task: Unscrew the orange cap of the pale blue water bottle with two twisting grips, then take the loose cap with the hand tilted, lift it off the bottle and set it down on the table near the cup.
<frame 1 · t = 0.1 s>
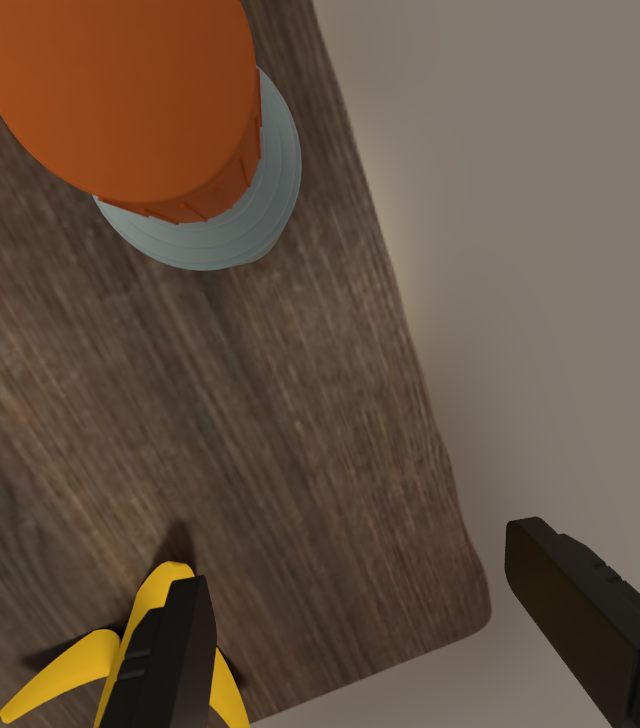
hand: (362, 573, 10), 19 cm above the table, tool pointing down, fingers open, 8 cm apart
cap: (130, 72, 6), point 20 cm above the table, screwed on, not yet turned
banana peel: (129, 643, 33), on the table
water bottle: (233, 213, 25), on the table
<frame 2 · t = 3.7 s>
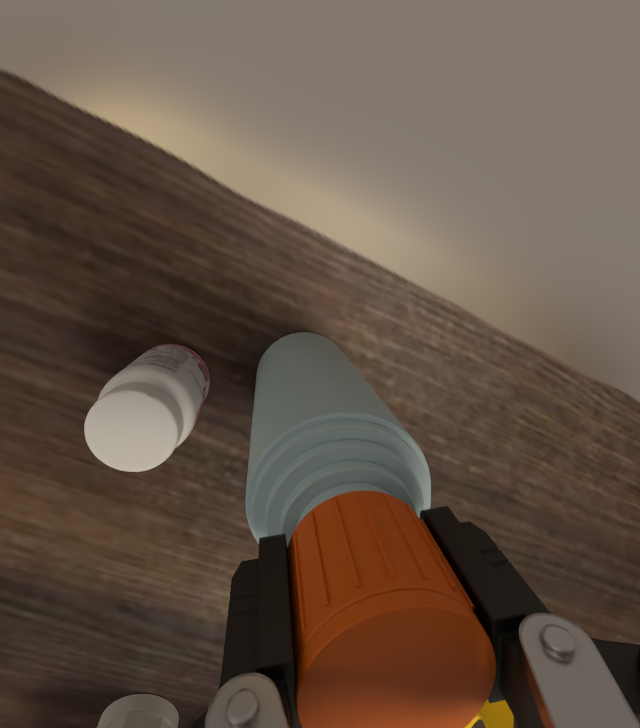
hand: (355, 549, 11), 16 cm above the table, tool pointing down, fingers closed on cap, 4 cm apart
pill bottle: (174, 377, 25), on the table
cap: (393, 669, 8), point 20 cm above the table, screwed on, not yet turned, touching gripper
cup: (140, 719, 33), on the table
banana peel: (474, 687, 37), on the table
water bottle: (303, 378, 26), on the table
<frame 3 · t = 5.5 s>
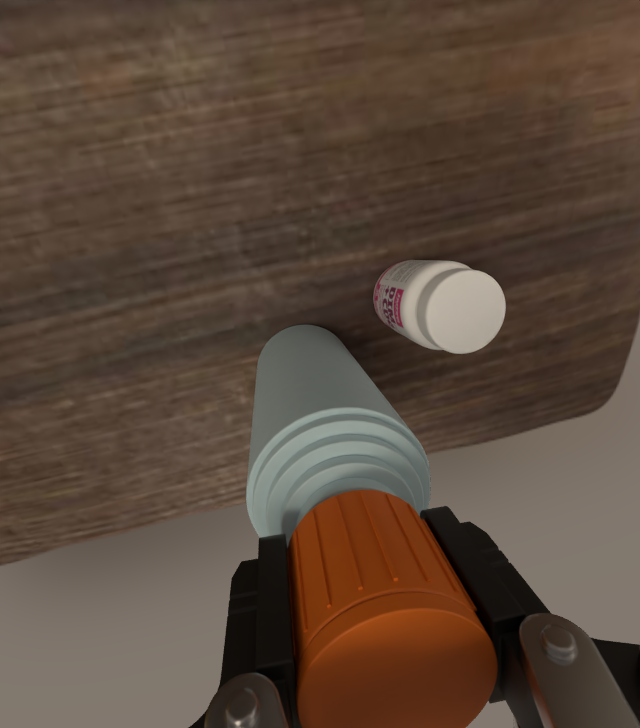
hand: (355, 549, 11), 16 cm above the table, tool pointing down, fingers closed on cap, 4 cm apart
pill bottle: (404, 296, 26), on the table
cap: (393, 670, 8), point 20 cm above the table, turned 142° so far, risen 0.1 cm, still on its thread, touching gripper
water bottle: (304, 370, 26), on the table
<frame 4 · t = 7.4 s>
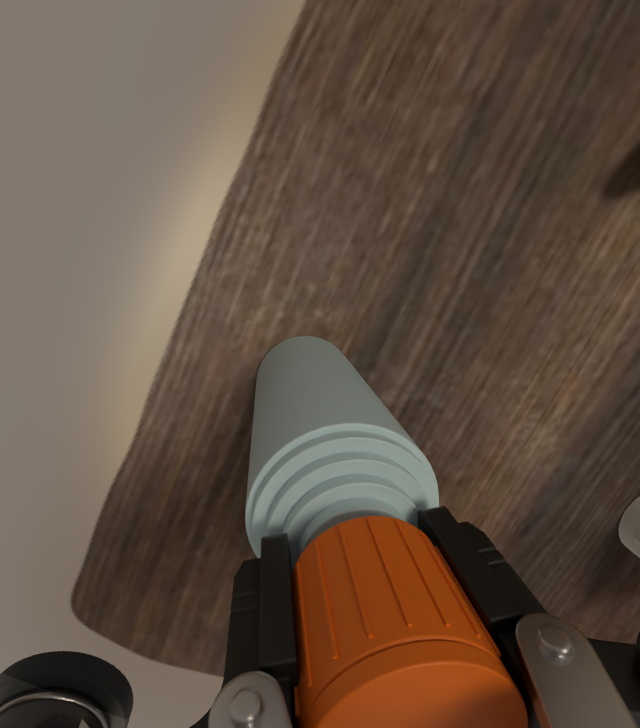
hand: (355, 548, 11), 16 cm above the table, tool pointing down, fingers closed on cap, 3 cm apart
cap: (410, 726, 7), point 20 cm above the table, turned 270° so far, risen 0.3 cm, still on its thread, touching gripper
water bottle: (304, 382, 26), on the table
when the fingers open (16 cm above the table, at t = 10.0 s): cap stays where it is, point 20 cm above the table.
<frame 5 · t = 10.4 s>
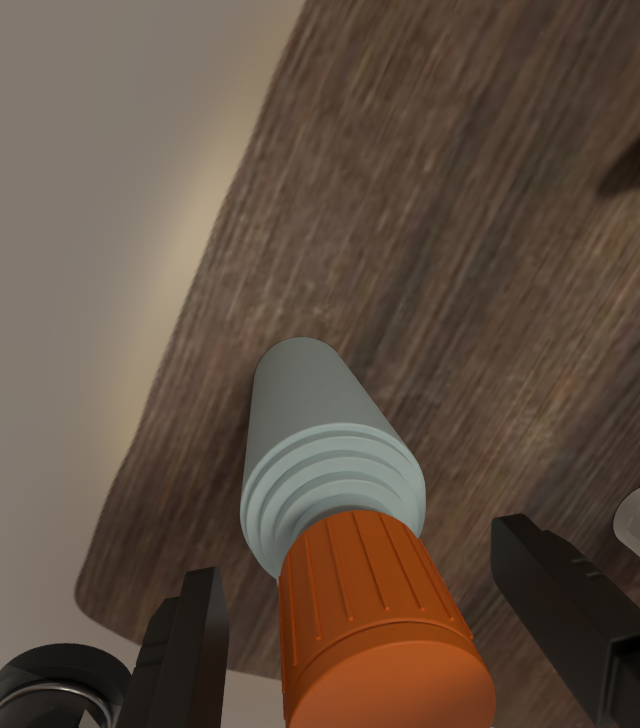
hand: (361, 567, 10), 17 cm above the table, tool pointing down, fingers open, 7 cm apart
cap: (388, 702, 7), point 20 cm above the table, turned 270° so far, risen 0.3 cm, still on its thread
water bottle: (301, 382, 26), on the table
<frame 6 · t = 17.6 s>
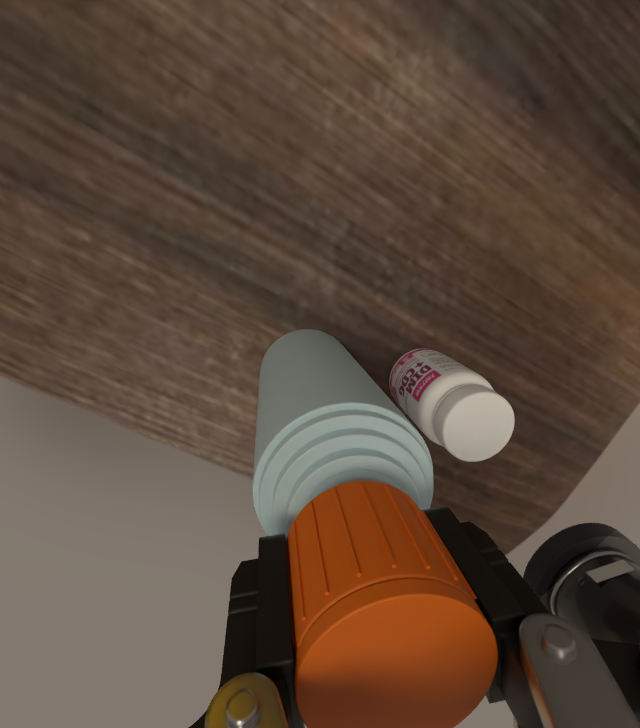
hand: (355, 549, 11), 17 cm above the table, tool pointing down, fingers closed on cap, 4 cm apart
pill bottle: (417, 378, 28), on the table
cap: (393, 659, 8), point 20 cm above the table, off its thread, touching gripper, water bottle
water bottle: (306, 374, 27), on the table, touching cap
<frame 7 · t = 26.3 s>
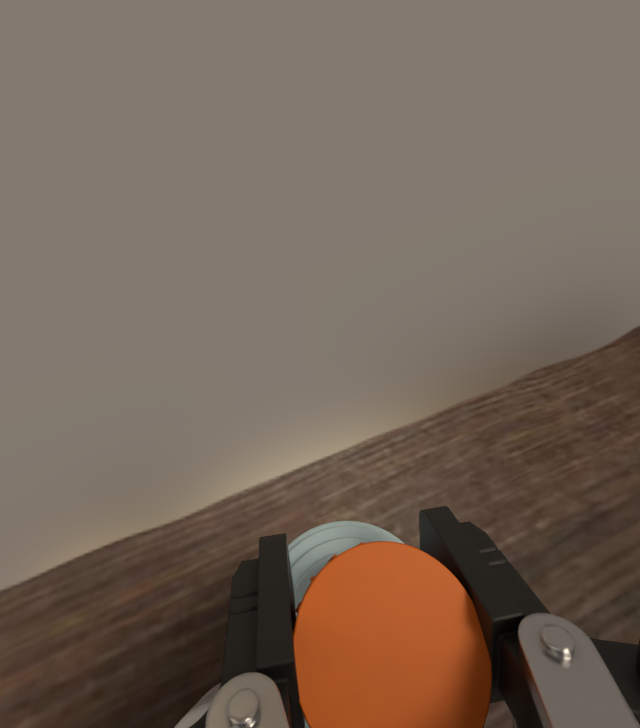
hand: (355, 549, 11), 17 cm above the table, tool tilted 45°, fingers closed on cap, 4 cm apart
cap: (388, 647, 8), point 20 cm above the table, off its thread, touching gripper, water bottle
water bottle: (329, 603, 25), on the table, touching cap
when the fingers open (1 cm above the table, at t = 35.7 s): cap stays where it is, point 3 cm above the table.
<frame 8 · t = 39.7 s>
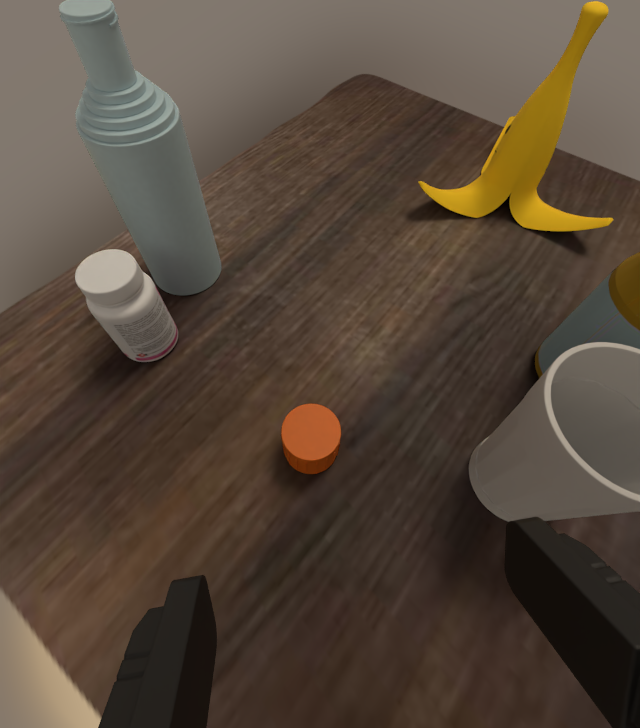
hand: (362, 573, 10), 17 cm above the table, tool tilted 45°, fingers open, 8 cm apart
bottle: (571, 376, 32), on the table
pill bottle: (151, 340, 33), on the table
cap: (311, 432, 26), point 3 cm above the table, off its thread
cup: (511, 478, 28), on the table
banana peel: (518, 209, 43), on the table
water bottle: (187, 269, 37), on the table
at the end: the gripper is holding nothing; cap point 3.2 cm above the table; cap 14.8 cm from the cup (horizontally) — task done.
